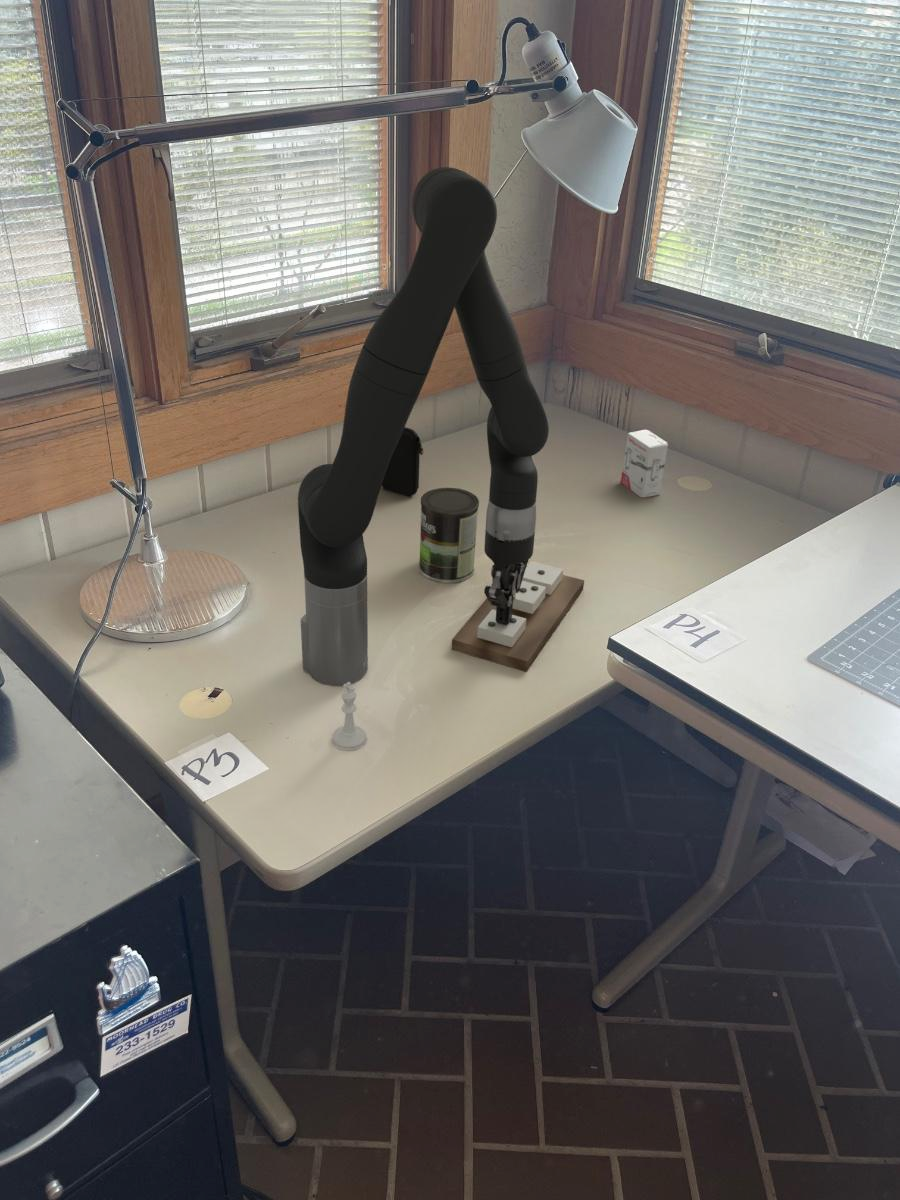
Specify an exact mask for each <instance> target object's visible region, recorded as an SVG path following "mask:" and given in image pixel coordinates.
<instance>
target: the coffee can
mask: <svg viewBox="0 0 900 1200" xmlns="http://www.w3.org/2000/svg"><path fill="white" fill-rule="evenodd" d="M479 507H480V500H479V498H478V496H477V495H475V494H474V493H473V492H470V491H468V490H466V489H461V488H456V487H439V488H434V489H430V490H428V491H427V492H424V493H423V494H422V496H421V498H420V534H419V535H420V536H419V541H420V542H419V564H418V571H419V573H420V574H421V575H422V576H423V577H424V578H425V579H428V580H430V581H432V582H436V583H442V584H456V583H461V582H464V581H466V580H468V579H470V578H471V577H472V576H473V575H474V573H475V560H476V559H475V558H476V543H477V529H478V528H477V527H478V514H479Z"/></svg>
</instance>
